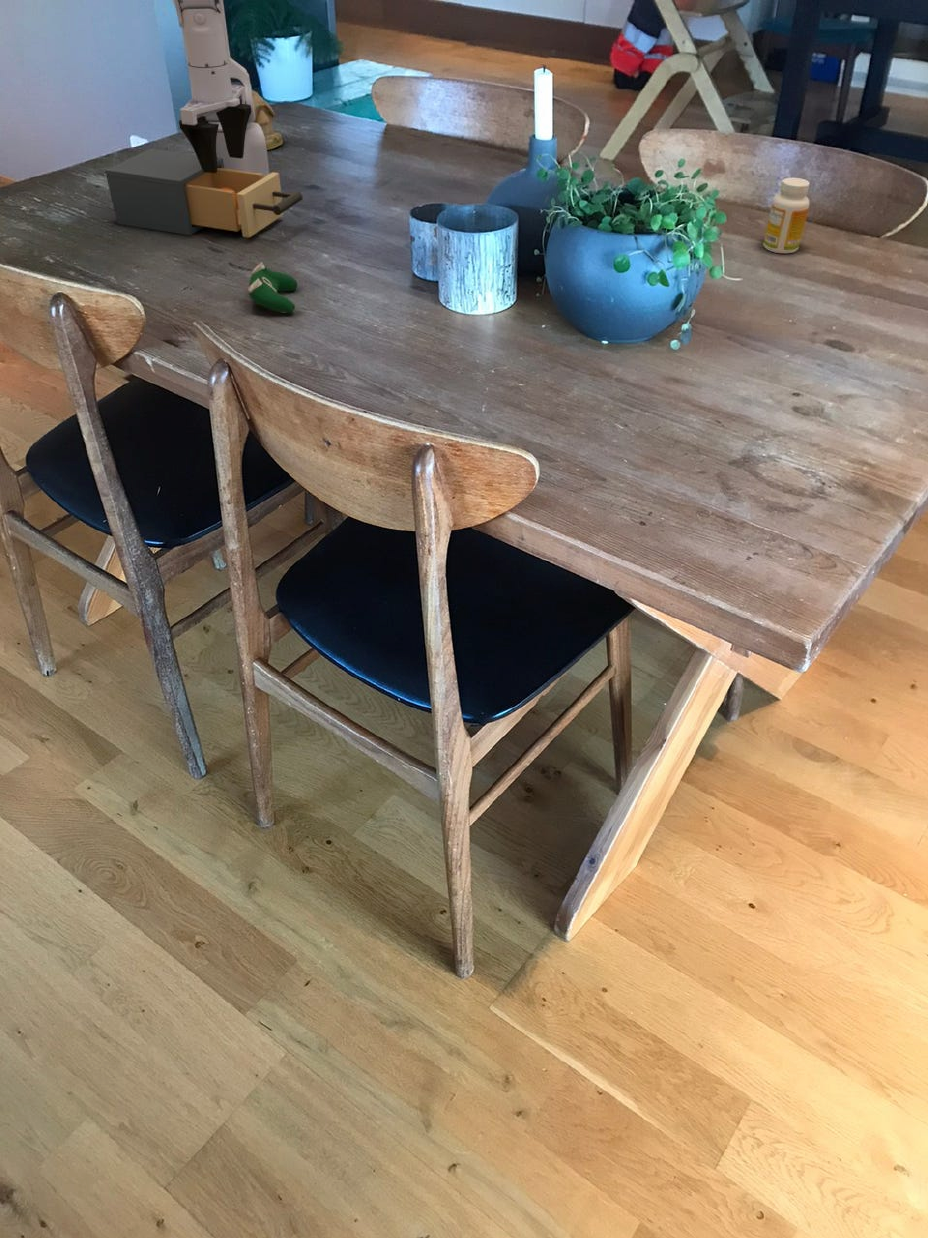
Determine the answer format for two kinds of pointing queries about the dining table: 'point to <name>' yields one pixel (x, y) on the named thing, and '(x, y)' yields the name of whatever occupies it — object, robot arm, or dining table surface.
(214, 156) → the robot arm
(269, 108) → the ceramic model
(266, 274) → the green fabric slippers
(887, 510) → the dining table surface
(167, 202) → the cabinet
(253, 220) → the drawer
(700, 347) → the dining table surface
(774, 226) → the supplement bottle
